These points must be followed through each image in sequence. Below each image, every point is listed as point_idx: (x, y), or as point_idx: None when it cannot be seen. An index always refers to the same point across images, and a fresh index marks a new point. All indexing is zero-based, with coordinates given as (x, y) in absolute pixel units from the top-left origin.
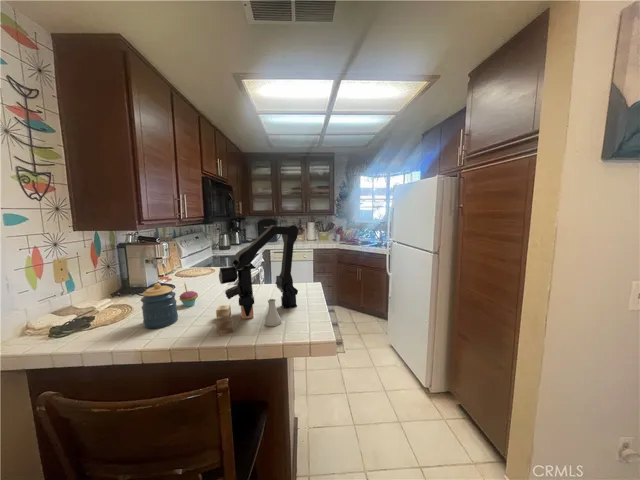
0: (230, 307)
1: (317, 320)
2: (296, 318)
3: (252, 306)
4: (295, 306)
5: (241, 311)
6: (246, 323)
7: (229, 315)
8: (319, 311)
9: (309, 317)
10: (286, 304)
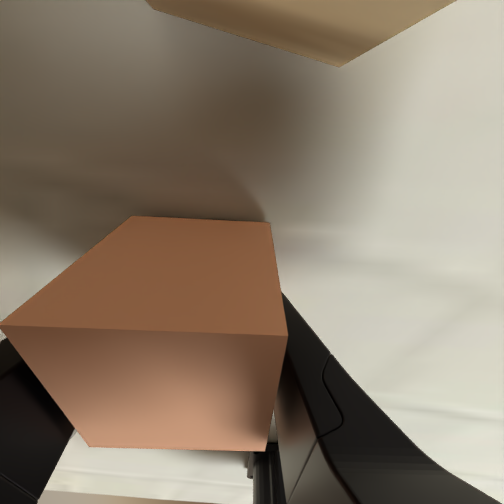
0: (426, 6)
1: (73, 482)
2: (103, 453)
3: (88, 443)
4: (247, 472)
5: (67, 273)
6: (24, 249)
7: (222, 12)
8: (165, 494)
9: (108, 475)
10: (262, 474)
